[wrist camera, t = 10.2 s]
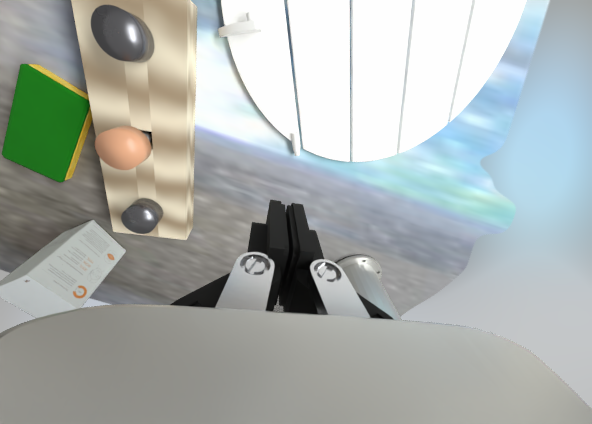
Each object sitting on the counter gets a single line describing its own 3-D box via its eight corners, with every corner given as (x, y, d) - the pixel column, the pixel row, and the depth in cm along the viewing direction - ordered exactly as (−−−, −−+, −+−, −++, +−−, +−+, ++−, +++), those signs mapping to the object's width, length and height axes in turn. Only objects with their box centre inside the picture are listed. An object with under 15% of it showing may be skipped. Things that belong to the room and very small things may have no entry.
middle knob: (164, 156, 33) (141, 173, 27) (129, 149, 32) (98, 166, 26) (162, 124, 31) (138, 135, 25) (125, 116, 30) (91, 126, 24)
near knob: (167, 68, 30) (143, 66, 24) (130, 58, 29) (95, 54, 23) (166, 26, 28) (139, 13, 22) (125, 14, 27) (86, -3, 21)
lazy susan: (253, 176, 39) (252, 184, 36) (152, -257, 19) (131, -317, 16) (479, 141, 40) (495, 146, 38) (605, -304, 20) (663, -369, 17)
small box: (63, 231, 40) (-15, 290, 29) (93, 218, 40) (25, 273, 29) (99, 262, 44) (43, 324, 33) (127, 251, 44) (80, 310, 33)
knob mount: (192, 226, 43) (186, 240, 39) (126, 218, 40) (113, 231, 37) (197, 7, 27) (187, -3, 24) (91, -26, 25) (63, -43, 22)
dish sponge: (101, 100, 32) (89, 102, 30) (73, 177, 36) (61, 184, 34) (38, 62, 29) (20, 61, 27) (16, 151, 34) (0, 156, 32)
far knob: (172, 212, 40) (156, 235, 34) (144, 208, 39) (123, 231, 33) (171, 190, 38) (154, 210, 32) (142, 185, 37) (119, 205, 31)
